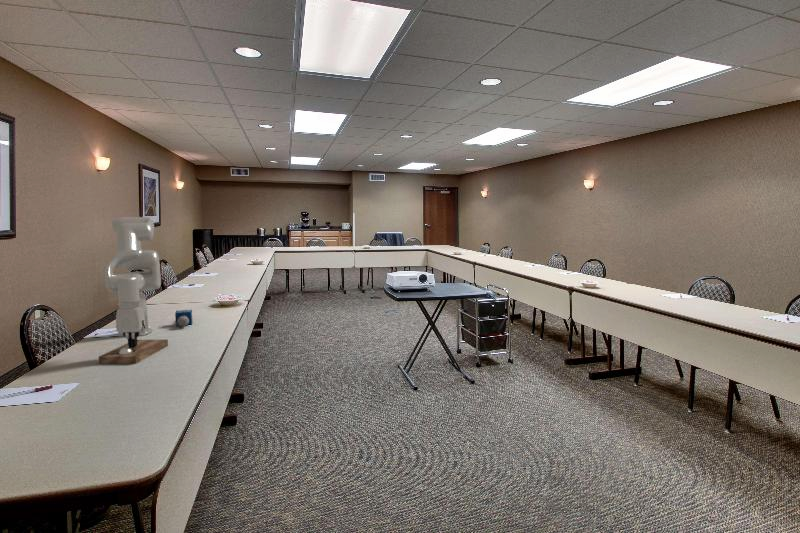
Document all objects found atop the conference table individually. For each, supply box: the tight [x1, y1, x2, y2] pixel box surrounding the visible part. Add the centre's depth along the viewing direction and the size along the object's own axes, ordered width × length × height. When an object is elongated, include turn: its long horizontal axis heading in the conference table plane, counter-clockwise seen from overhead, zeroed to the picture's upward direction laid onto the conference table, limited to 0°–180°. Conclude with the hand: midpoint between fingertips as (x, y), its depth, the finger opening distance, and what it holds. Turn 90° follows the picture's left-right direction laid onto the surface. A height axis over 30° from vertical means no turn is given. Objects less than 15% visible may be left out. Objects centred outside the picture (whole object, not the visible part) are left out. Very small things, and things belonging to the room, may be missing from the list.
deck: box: [98, 339, 169, 365], centre depth 184 cm, size 15×24×3 cm, turn 0°
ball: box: [119, 348, 133, 354], centre depth 178 cm, size 5×5×5 cm
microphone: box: [174, 309, 193, 328], centre depth 237 cm, size 8×8×25 cm
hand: (133, 347), depth 183 cm, fingers closed
